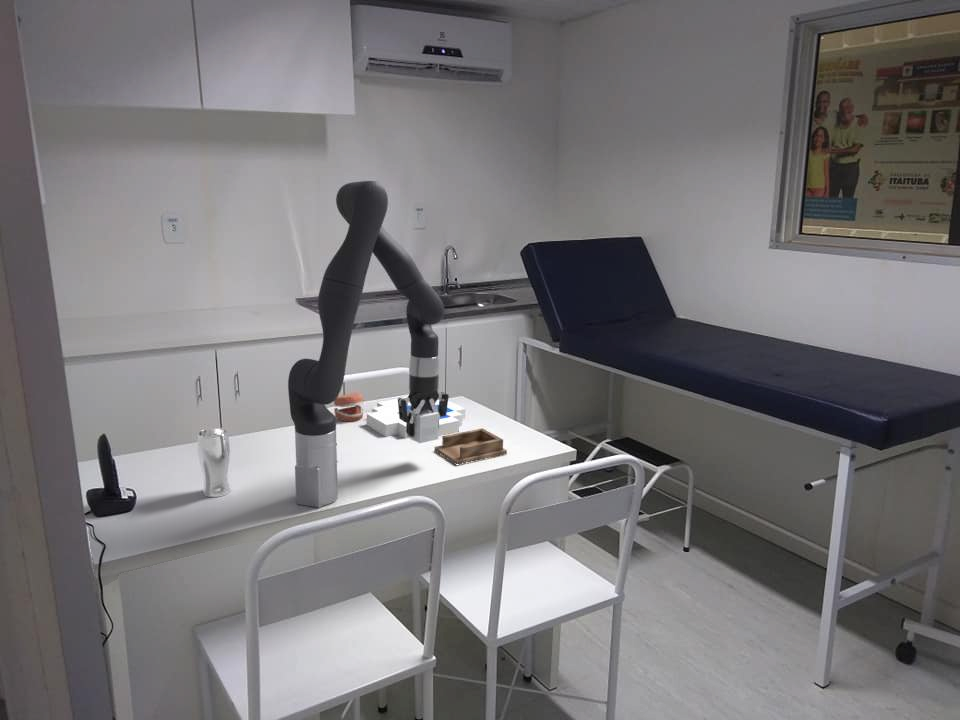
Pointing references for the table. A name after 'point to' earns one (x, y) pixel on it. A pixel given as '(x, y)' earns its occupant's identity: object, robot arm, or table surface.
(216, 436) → the beer glass
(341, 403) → the dentures
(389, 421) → the pixel art tile
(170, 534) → the table surface
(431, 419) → the product box
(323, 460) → the robot arm
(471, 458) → the U-rest
